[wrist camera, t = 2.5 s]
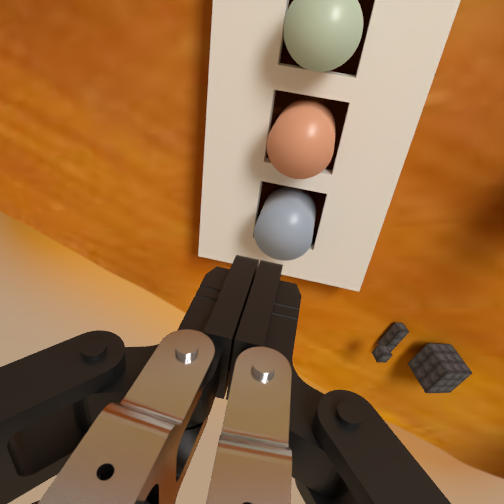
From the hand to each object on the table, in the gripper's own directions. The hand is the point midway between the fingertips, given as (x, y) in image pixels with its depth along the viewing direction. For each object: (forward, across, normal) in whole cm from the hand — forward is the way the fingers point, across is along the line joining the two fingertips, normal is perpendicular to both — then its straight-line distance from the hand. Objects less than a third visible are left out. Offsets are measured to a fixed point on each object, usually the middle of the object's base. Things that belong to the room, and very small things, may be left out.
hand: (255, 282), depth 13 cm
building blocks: (+21, -14, +19) cm, 32 cm away
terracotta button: (+19, 0, 0) cm, 19 cm away
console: (+20, 0, 0) cm, 21 cm away
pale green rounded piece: (+19, 0, -6) cm, 20 cm away
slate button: (+19, 0, +7) cm, 20 cm away
